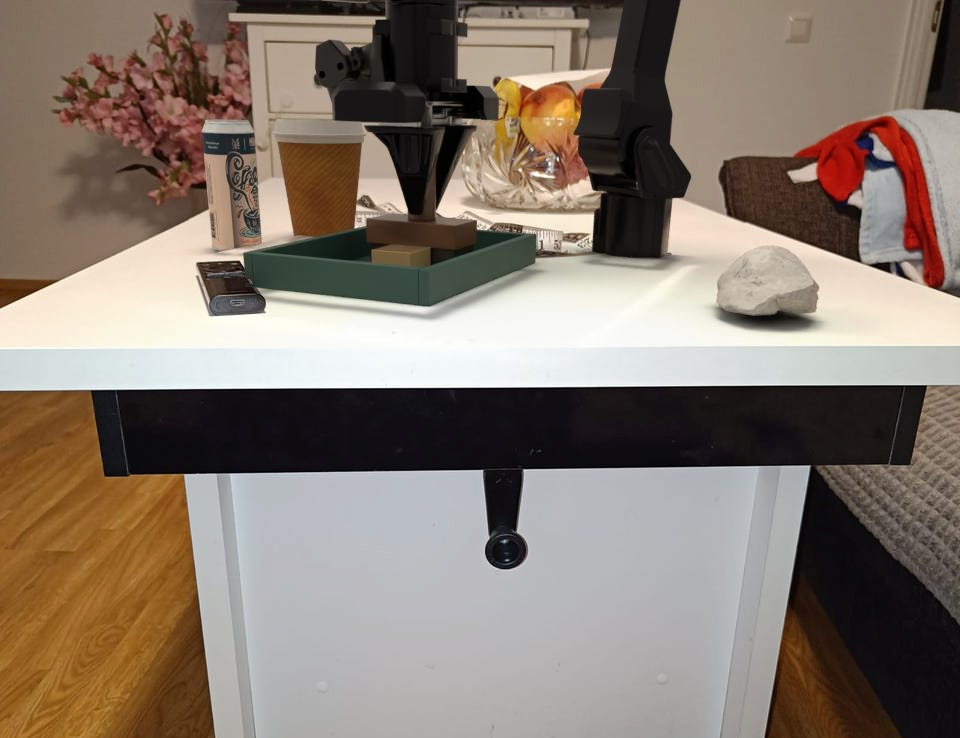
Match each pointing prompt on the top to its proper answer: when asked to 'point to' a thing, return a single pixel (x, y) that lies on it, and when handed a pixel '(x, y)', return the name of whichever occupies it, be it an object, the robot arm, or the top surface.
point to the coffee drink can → (232, 184)
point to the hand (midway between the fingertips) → (422, 213)
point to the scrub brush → (424, 231)
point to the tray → (384, 268)
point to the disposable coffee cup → (320, 173)
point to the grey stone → (767, 284)
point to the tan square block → (402, 255)
